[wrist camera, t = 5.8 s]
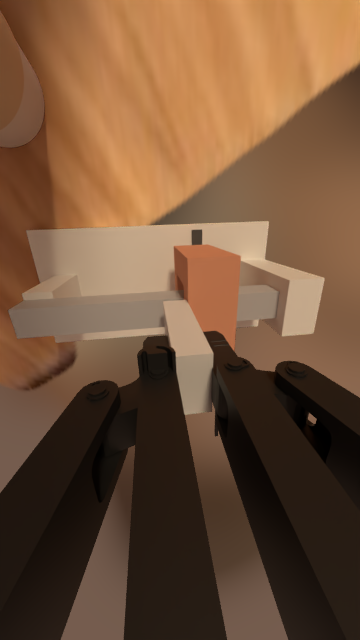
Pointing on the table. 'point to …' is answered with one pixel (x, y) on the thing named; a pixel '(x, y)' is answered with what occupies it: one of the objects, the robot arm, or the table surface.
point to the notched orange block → (210, 286)
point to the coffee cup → (17, 93)
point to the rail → (151, 281)
